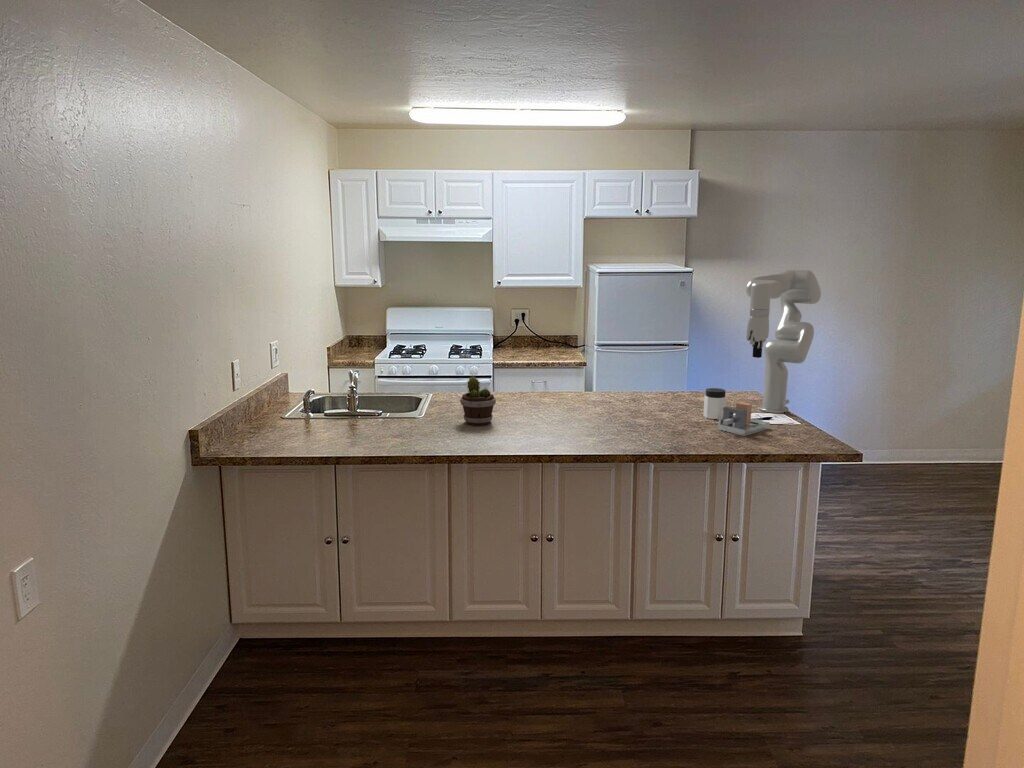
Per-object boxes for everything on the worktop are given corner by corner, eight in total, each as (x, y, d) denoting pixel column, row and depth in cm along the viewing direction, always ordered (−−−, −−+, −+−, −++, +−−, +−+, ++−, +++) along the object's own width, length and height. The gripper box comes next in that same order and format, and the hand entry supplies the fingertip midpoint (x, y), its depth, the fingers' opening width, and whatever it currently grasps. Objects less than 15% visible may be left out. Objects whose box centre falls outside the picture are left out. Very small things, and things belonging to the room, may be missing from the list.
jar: (714, 420, 303) (716, 392, 301) (699, 416, 310) (701, 389, 307) (728, 418, 308) (730, 390, 305) (713, 414, 314) (715, 387, 312)
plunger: (740, 420, 292) (742, 401, 291) (758, 424, 286) (760, 405, 285) (718, 426, 283) (720, 407, 281) (737, 431, 277) (738, 410, 275)
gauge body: (743, 422, 300) (744, 400, 298) (769, 428, 291) (771, 405, 289) (717, 429, 289) (719, 406, 287) (744, 436, 280) (746, 412, 278)
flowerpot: (503, 424, 296) (503, 376, 292) (469, 429, 288) (469, 379, 284) (485, 416, 308) (485, 370, 304) (453, 421, 300) (453, 373, 296)
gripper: (760, 310, 301) (758, 353, 305) (741, 314, 291) (739, 358, 295) (777, 311, 295) (774, 355, 300) (758, 315, 286) (755, 361, 290)
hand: (757, 357), depth 297 cm, fingers closed
